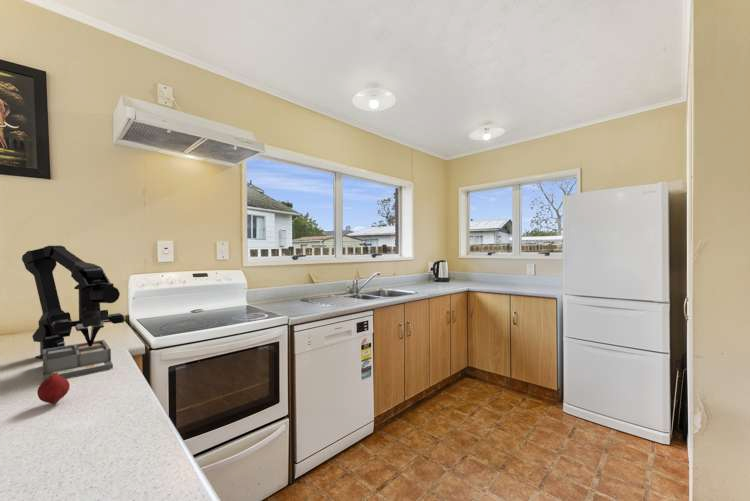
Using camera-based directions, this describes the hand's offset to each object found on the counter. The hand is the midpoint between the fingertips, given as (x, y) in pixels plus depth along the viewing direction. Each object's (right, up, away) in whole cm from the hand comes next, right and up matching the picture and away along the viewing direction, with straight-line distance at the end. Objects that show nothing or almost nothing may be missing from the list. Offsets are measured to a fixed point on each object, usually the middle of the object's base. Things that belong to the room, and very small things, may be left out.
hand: (90, 346), depth 116 cm
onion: (+18, -6, -32) cm, 37 cm away
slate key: (-5, -2, -5) cm, 8 cm away
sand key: (+5, -2, -5) cm, 8 cm away
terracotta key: (0, -2, 0) cm, 2 cm away
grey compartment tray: (+2, -5, -7) cm, 8 cm away
